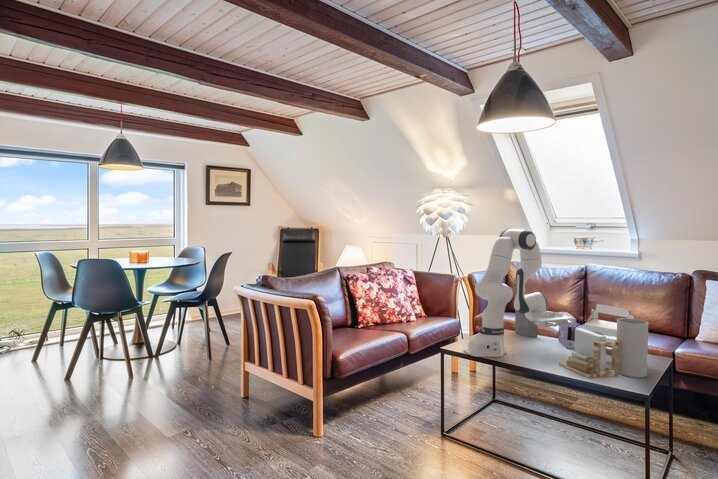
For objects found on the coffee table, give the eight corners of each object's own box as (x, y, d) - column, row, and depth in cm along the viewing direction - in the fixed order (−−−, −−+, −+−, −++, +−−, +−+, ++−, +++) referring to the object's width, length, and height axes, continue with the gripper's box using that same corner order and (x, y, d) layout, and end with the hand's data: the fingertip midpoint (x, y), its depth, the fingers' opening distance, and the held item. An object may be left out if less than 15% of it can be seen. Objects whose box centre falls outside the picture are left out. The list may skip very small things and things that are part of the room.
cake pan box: (576, 349, 247) (577, 318, 247) (566, 349, 248) (567, 318, 248) (566, 340, 266) (567, 311, 266) (557, 340, 267) (558, 311, 266)
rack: (587, 378, 201) (588, 343, 201) (558, 364, 221) (559, 332, 220) (618, 375, 205) (619, 341, 204) (587, 362, 224) (588, 331, 224)
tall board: (597, 374, 206) (598, 336, 205) (574, 364, 222) (574, 328, 221) (605, 374, 207) (606, 336, 206) (581, 363, 222) (581, 328, 222)
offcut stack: (585, 373, 203) (585, 358, 202) (566, 365, 215) (566, 350, 215) (595, 373, 204) (596, 358, 204) (576, 364, 217) (576, 350, 216)
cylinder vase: (612, 368, 215) (613, 317, 214) (641, 370, 212) (643, 319, 211) (619, 376, 203) (621, 323, 202) (650, 379, 200) (652, 325, 199)
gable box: (640, 363, 224) (641, 308, 223) (626, 367, 217) (628, 311, 216) (597, 352, 243) (598, 301, 242) (583, 355, 236) (584, 304, 235)
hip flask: (538, 337, 275) (538, 305, 274) (534, 337, 273) (534, 305, 272) (517, 331, 288) (517, 301, 288) (513, 332, 286) (513, 301, 285)
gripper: (529, 314, 244) (545, 320, 231) (562, 312, 249) (579, 317, 235) (530, 325, 245) (545, 332, 231) (562, 323, 249) (579, 328, 236)
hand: (563, 324), depth 233 cm, fingers open, 8 cm apart
